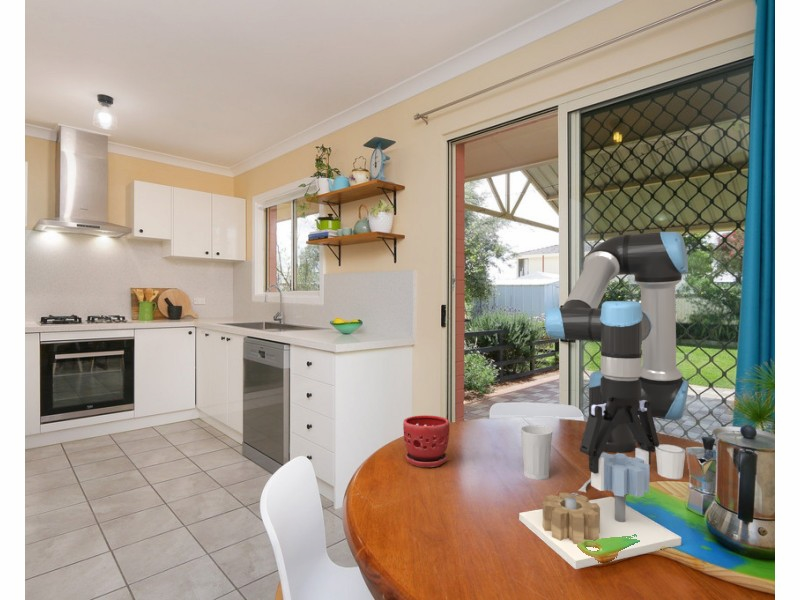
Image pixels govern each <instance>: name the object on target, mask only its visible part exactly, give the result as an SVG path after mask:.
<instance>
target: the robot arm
mask: <svg viewBox="0 0 800 600" xmlns="http://www.w3.org/2000/svg"><path fill="white" fill-rule="evenodd" d="M688 263H689V262H688V253H687V247H686V243H685V241H684V237H683V236H682V234H681V233H680V232H678V231H655V232H646V233H645V232H644V233H633V234H632V233H631V234H619V235H615V236H612V237H610V238H608V239H606V240H604V241H602V242H601V243H599V244H598V245H596V246H595V247H593V248H592V250H591V251H590V252H589V253H588V254H587V255H586V257H585V259H584V261H583V270H582V271H581V274H580V275H579V277H578V279H577V281H576V282H575V284H574V286H573V288H572V289H571V291H570V293H569V295H568V296H567V299H566V300H565V302H564V304H563V305H562V307H559V306H557V307H550V308H548V309H547V311H546V313H545V317H544V327H545V329H544V330H545V333H546V335H547V336H548V337H549V338H552V339H556V340H557V339H558V340H563V341H566V340H568V341H591V342H600V369H599V370H595V371H593V372H591V373H590V375H589V377H588V378H589V381H588V417H587V422H586V425H585V428H584V431H583V434H582V439H581V442H580V447H579V452H581V453H583V454H585V455H587V456H588V470H589V472H590V477H591V482H590V486H591V487H593V488H594V489H596V490H598V491H600V492H602V491H603V492H604V458H603V457H601V454H602V453H604V452H612V453H628V452H631V451H634V450H635V455H634V456H635V457H638V458H640V459H643V460H644V464H649V466H651V457H652V456H651V454H652V453H654V452H655V453H656V448H655V447H658V446H659V444H660V440H659V436H658V432H657V429H656V425H655V421H654V418H655V419H661V420H664V421H665V420H670V421H671V420H672V421H679V420H681V419H682V418H683V417H684V413H685V409H686V404H687V398H688V393H689V384H690V383H689V380H686V379H683V372H682V371H680V370H679V369H678V368H677V334H676V333H677V332H676V331H677V327H676V326H677V325H676V322H677V319H676V314H677V313H676V308H677V307H676V303H677V302H676V287H677V285H678V284H679V283H680V282H681V281H682V279H683V277H682V275H685V274H688V272H689V271H688V270H689V265H688ZM621 275H622V276H624V275H626V276H629V275H631V276H632V275H634V282H635V283H636V284H637V285H638V286H639V287H640V302H639V301H631V300H626V301H625V300H623V301H622V300H614V301H613V300H610V301H608V300H607V301H604V302H603V303H602V304H601V302H602V299H603V297H604V295H605V294H606V291H607V289H608V287H609V284H610V282H611V281H612V280H614V279H615V278H616V277H617V276H621ZM600 304H601V308H598V307H599V306H600ZM637 445H638V447H637Z"/></svg>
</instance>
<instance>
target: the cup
mask: <svg viewBox="0 0 800 600" xmlns="http://www.w3.org/2000/svg"><path fill="white" fill-rule="evenodd" d="M520 437H521V448H522V449H521V450H522V459H523V461H522V462H523V475H524V477H526V478H528V479H530V480H537V481H544V480H547V479H549V477H550V465H551V463H550V461H551V453H552V452H551V451H552V440H553V430H552V428H549V427H547V426H543V425H535V424H528V425H524V426H521V427H520Z"/></svg>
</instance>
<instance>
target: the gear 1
mask: <svg viewBox="0 0 800 600" xmlns="http://www.w3.org/2000/svg"><path fill="white" fill-rule="evenodd" d="M558 494H559V495H553V494H550V493H549V494H548V495H545V496H544V501H542V509H543V528H544V531H551V532H552V537H553V538H555V539H557V540H559V541H561V540H563V539H568V538H569V540H572V542H573V544H578V543H579V542H580V543H584V539H585V540H593V541H596V540H597V539H599V533H600V507H599V506H598V504H597V503H590V502H589V497H584V496H585V495H582V494H579V495H577V496H578V497H576V496H574V497H572V496H573V495H571V496H570V493H569V492H559V493H558ZM581 495H582V496H581ZM567 497H572V498H575V499H576V509H567V508H565V499H566V498H567Z"/></svg>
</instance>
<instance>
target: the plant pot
mask: <svg viewBox="0 0 800 600" xmlns="http://www.w3.org/2000/svg"><path fill="white" fill-rule="evenodd" d="M402 423H403V424H402V426H403V428H402V429H403V441H404V445H405V448H406V450H407V453H406V454H405V458H406V460H407V461H408V463H410V464H411V465H412V466H415V467H419V468H427V469H431V468H435V467H438V466H441V465H443V464H444V463H445V462H446V461H447V458H448V455H447V453H446V451H447V448H448V445H449V441H450V440H449V439H450V421H449V420H448V419H447V418H446V417H443V416H439V415H425V414H424V415H423V414H421V415H413V416H408V417H406V418H404V420H403V422H402Z"/></svg>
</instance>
